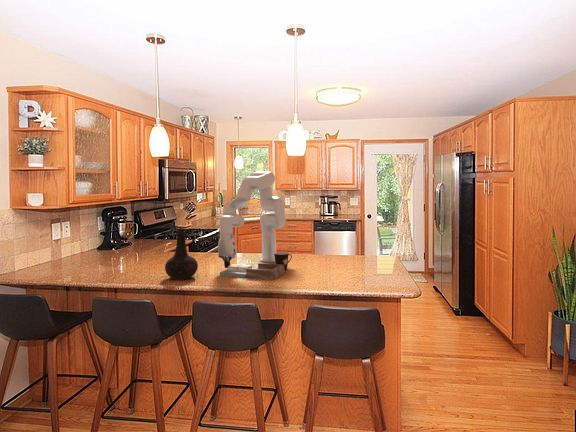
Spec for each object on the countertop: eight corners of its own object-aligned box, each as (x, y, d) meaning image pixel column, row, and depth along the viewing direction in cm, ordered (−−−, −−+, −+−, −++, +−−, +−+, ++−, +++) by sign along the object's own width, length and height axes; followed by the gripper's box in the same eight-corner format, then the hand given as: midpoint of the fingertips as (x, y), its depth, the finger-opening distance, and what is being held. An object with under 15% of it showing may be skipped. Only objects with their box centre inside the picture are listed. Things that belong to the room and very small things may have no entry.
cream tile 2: (242, 269, 265) (242, 264, 265) (252, 269, 263) (252, 265, 263) (238, 271, 260) (238, 266, 260) (247, 271, 258) (247, 267, 257)
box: (259, 271, 268) (259, 262, 267) (284, 273, 262) (284, 264, 262) (246, 277, 252) (246, 268, 252) (272, 279, 246) (272, 270, 246)
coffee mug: (276, 271, 266) (276, 255, 265) (273, 268, 274) (272, 252, 273) (295, 270, 269) (295, 253, 268) (291, 267, 277) (291, 251, 276)
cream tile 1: (233, 268, 268) (232, 264, 268) (242, 268, 266) (242, 264, 265) (228, 270, 262) (227, 266, 262) (237, 271, 260) (237, 266, 260)
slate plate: (234, 269, 274) (234, 266, 274) (258, 271, 268) (258, 267, 268) (220, 275, 258) (219, 272, 257) (245, 277, 252) (245, 274, 252)
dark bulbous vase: (162, 282, 244) (160, 230, 242) (168, 274, 262) (166, 226, 259) (196, 281, 246) (194, 230, 243) (200, 273, 263) (198, 226, 261)
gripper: (240, 236, 265) (241, 267, 266) (218, 235, 270) (219, 265, 272) (234, 238, 258) (235, 269, 259) (211, 237, 263) (212, 268, 265)
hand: (227, 267), depth 266 cm, fingers closed
